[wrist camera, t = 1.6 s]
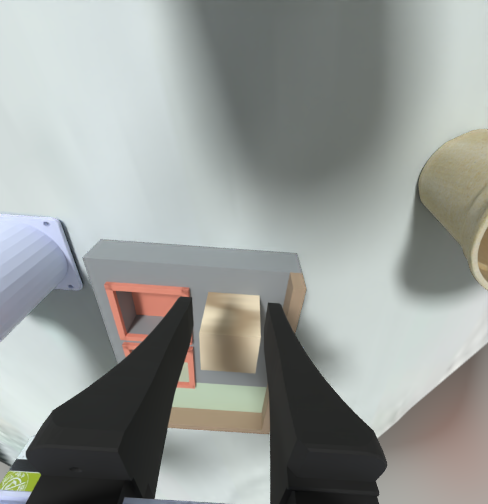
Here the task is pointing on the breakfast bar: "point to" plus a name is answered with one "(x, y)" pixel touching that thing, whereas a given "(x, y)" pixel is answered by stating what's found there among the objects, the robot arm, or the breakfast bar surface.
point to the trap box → (194, 318)
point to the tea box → (21, 473)
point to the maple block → (230, 333)
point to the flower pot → (461, 195)
